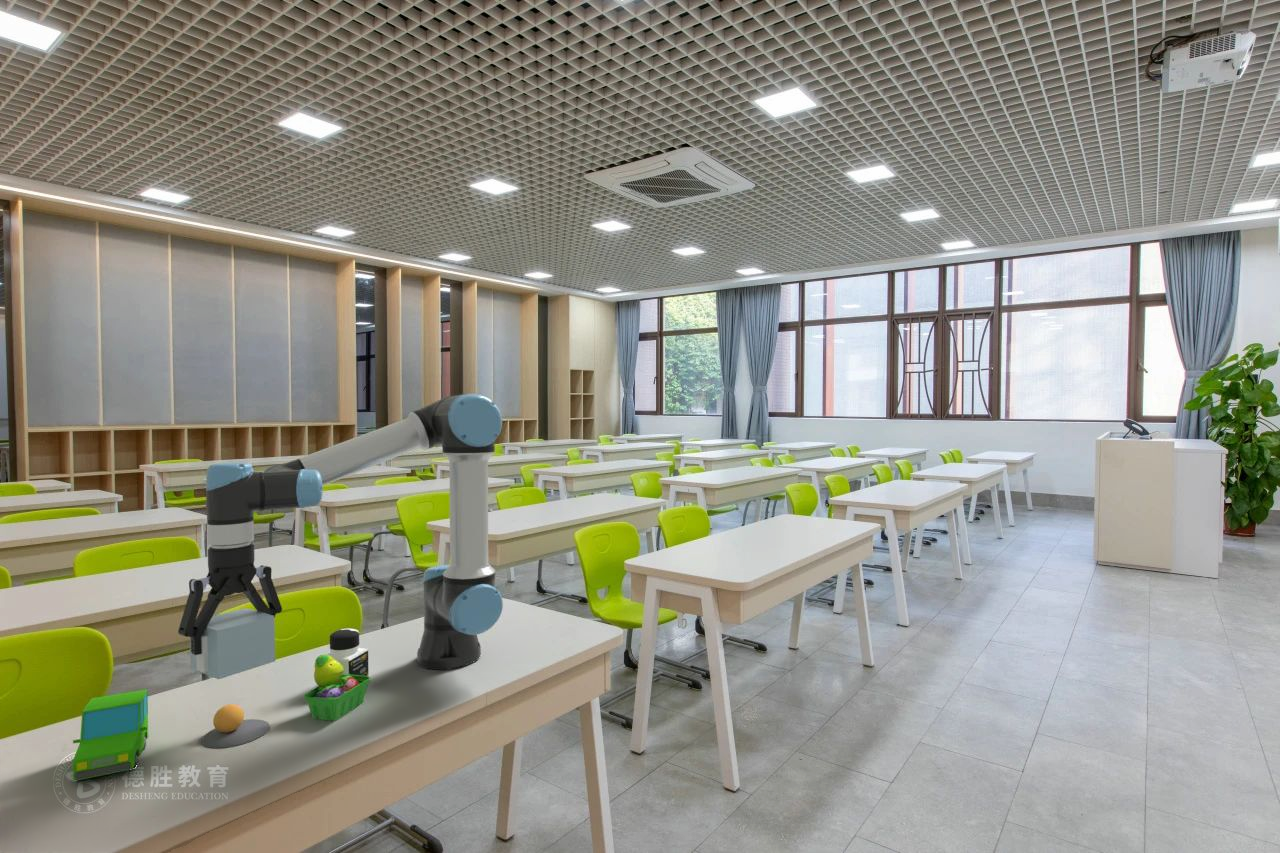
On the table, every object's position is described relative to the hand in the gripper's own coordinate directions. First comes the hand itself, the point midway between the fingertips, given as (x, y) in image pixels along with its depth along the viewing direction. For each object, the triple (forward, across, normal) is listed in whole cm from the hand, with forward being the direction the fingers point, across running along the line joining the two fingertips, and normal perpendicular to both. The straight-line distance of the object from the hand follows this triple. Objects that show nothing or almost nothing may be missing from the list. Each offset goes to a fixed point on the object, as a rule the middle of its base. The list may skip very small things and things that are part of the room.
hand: (233, 661), depth 126 cm
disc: (+14, 0, 0) cm, 14 cm away
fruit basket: (+14, -16, +7) cm, 23 cm away
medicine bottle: (+14, -25, -3) cm, 29 cm away
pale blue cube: (+1, 0, 0) cm, 1 cm away
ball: (+11, 0, -2) cm, 11 cm away
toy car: (+14, +17, -6) cm, 23 cm away
